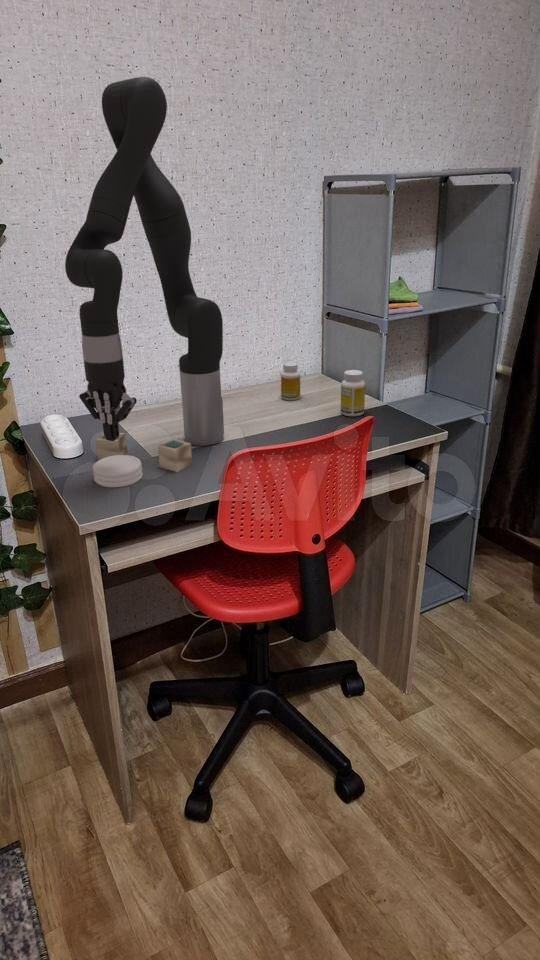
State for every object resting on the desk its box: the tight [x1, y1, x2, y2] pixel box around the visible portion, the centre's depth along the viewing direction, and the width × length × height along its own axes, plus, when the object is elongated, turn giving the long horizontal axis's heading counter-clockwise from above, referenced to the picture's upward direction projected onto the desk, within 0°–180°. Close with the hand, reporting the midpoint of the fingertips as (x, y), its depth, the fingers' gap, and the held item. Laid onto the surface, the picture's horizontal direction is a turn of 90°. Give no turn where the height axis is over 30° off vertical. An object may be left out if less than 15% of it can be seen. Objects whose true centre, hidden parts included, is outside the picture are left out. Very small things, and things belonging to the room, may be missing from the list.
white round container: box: [92, 454, 143, 488], centre depth 141 cm, size 10×10×4 cm
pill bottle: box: [340, 369, 366, 417], centre depth 174 cm, size 6×6×11 cm
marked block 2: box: [157, 438, 193, 473], centre depth 146 cm, size 5×5×5 cm
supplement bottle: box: [280, 361, 301, 401], centre depth 187 cm, size 5×5×10 cm
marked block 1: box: [95, 432, 129, 461], centre depth 151 cm, size 5×5×5 cm
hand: (112, 439), depth 138 cm, fingers closed
